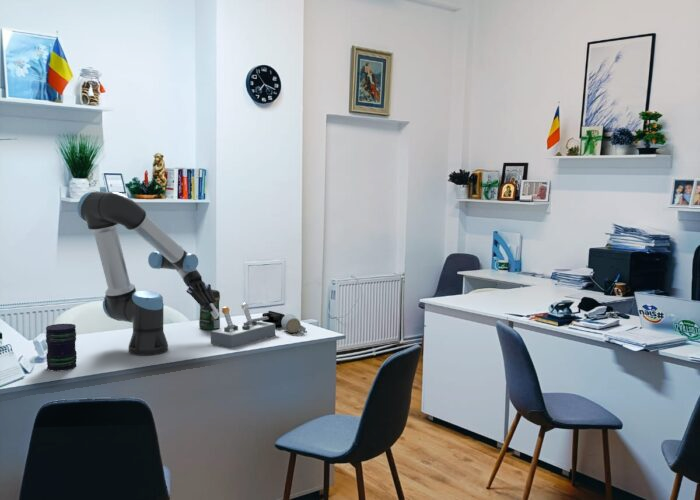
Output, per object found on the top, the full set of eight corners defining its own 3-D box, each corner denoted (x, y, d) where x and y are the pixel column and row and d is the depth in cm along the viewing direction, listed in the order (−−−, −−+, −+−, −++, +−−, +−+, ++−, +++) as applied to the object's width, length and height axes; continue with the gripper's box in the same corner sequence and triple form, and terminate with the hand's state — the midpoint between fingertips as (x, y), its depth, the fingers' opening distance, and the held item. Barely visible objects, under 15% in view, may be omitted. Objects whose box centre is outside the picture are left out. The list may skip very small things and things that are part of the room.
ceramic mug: (286, 334, 282) (286, 317, 281) (280, 330, 289) (281, 314, 288) (308, 332, 286) (308, 316, 285) (302, 329, 294) (302, 313, 293)
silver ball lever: (245, 326, 273) (238, 304, 274) (251, 325, 276) (244, 303, 277) (250, 324, 271) (243, 302, 273) (256, 322, 274) (249, 301, 276)
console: (210, 343, 263) (210, 327, 262) (255, 331, 286) (255, 316, 285) (231, 347, 256) (231, 331, 255) (275, 335, 279) (275, 320, 279)
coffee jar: (196, 328, 291) (196, 288, 289) (209, 325, 297) (209, 287, 295) (209, 331, 285) (209, 291, 283) (222, 328, 291) (222, 289, 289)
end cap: (286, 326, 297) (286, 313, 297) (274, 329, 292) (274, 314, 292) (273, 323, 304) (273, 309, 304) (261, 325, 299) (261, 311, 299)
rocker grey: (251, 321, 279) (251, 318, 279) (258, 320, 283) (257, 317, 283) (262, 320, 275) (261, 317, 276) (268, 318, 279) (268, 315, 279)
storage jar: (49, 372, 217) (48, 330, 215) (44, 366, 225) (43, 325, 223) (79, 368, 223) (78, 327, 221) (73, 362, 231) (72, 322, 229)
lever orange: (226, 331, 263) (219, 308, 264) (232, 329, 266) (225, 307, 267) (231, 329, 261) (223, 306, 263) (237, 327, 264) (229, 305, 266)
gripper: (196, 279, 282) (223, 319, 275) (174, 282, 271) (201, 324, 264) (205, 268, 279) (232, 309, 272) (183, 271, 268) (210, 313, 261)
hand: (217, 316), depth 268 cm, fingers closed
